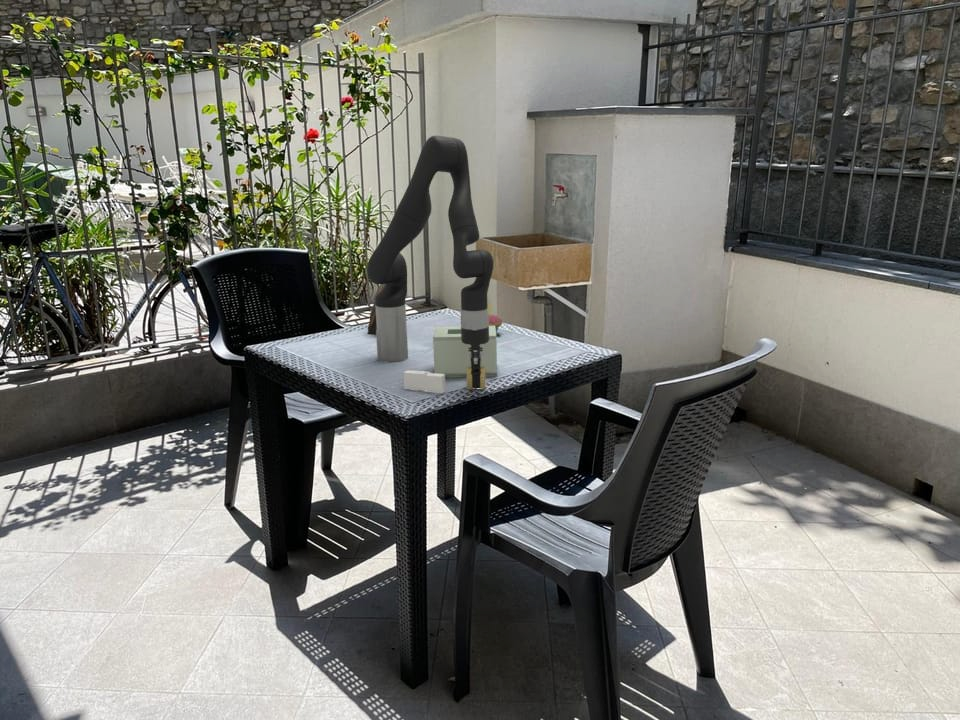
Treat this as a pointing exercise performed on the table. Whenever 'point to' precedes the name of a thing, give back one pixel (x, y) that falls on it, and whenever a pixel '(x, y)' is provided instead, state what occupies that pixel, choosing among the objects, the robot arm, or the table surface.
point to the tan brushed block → (469, 377)
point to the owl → (374, 315)
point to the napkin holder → (424, 381)
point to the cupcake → (494, 319)
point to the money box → (461, 352)
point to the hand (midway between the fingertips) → (476, 385)
